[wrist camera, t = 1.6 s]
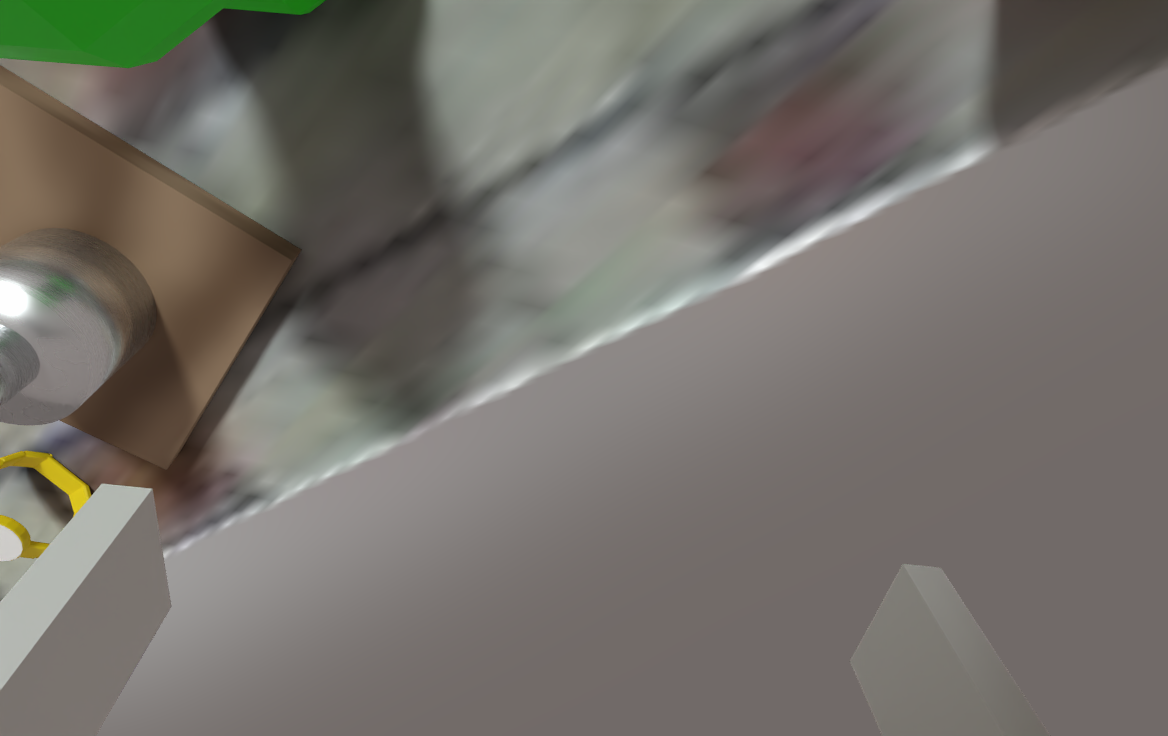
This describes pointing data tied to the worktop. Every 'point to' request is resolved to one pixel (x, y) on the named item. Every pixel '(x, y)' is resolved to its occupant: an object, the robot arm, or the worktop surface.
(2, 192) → the tool board
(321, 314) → the worktop surface
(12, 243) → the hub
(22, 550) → the watch
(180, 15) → the plastic bottle
